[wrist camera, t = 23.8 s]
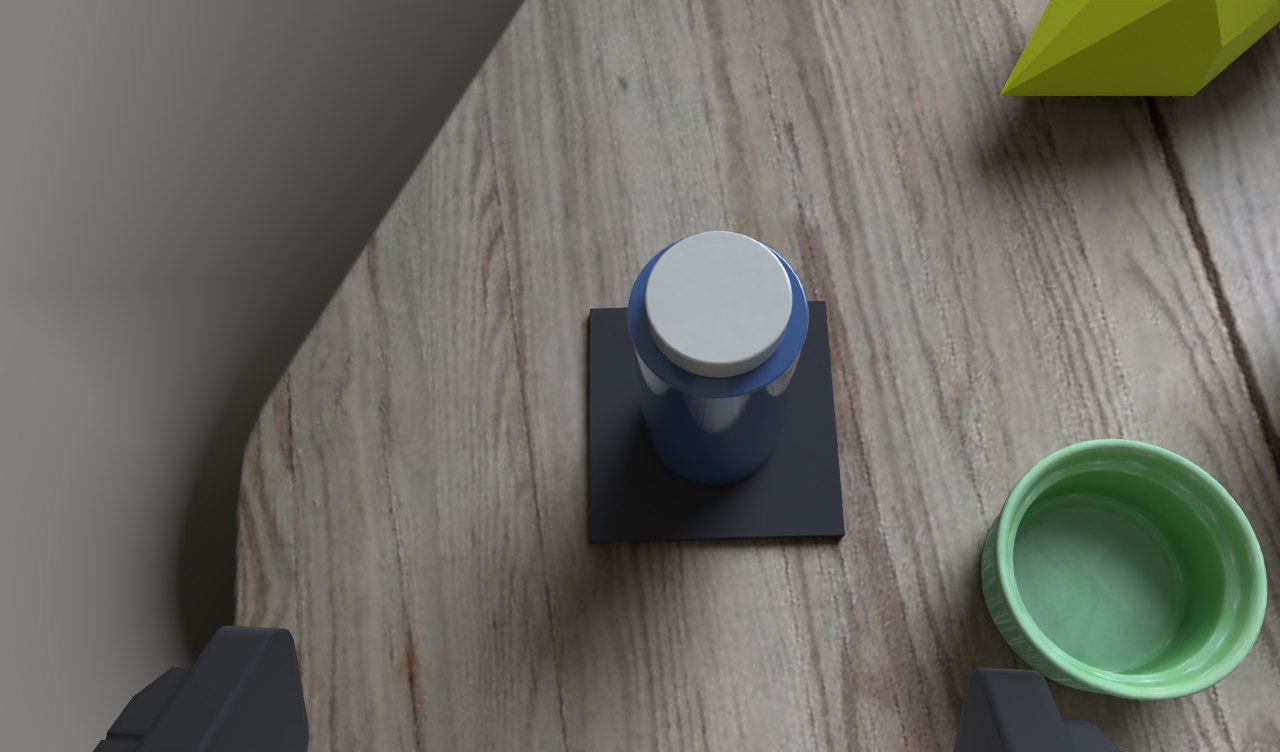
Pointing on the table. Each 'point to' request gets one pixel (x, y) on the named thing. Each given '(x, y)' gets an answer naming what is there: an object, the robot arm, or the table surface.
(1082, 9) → the plumb bob
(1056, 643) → the ramekin
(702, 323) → the blue cylinder
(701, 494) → the coaster
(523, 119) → the table surface
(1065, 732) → the robot arm
